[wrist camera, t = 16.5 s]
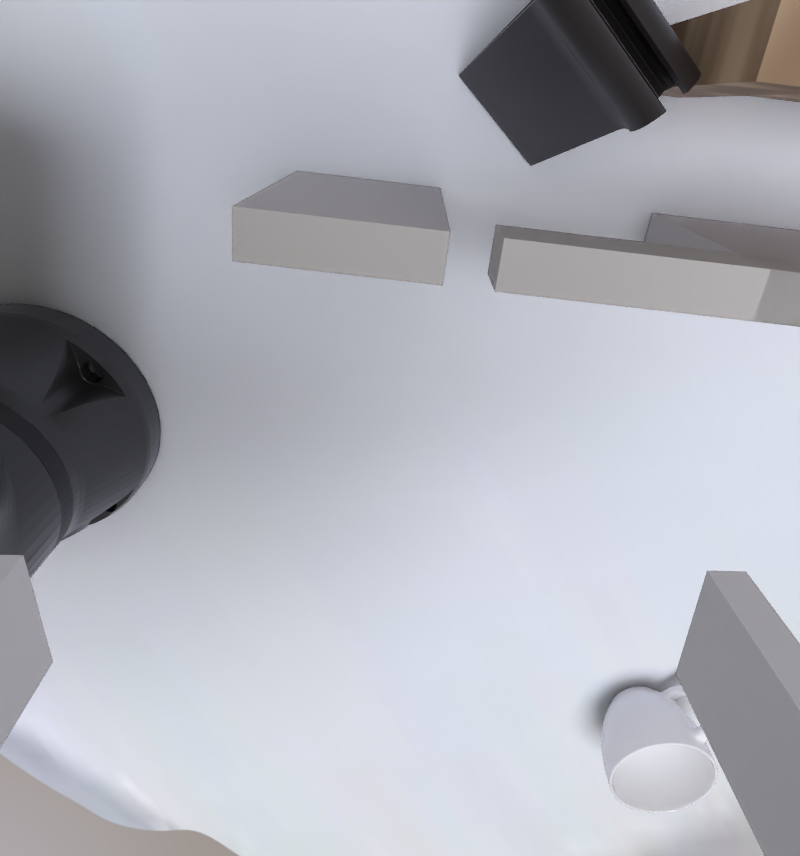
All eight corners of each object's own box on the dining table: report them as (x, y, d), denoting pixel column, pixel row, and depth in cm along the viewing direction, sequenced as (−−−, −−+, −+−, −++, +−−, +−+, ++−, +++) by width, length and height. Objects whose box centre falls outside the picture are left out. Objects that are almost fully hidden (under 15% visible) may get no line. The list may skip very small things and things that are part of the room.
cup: (568, 709, 54) (587, 785, 48) (658, 637, 51) (690, 710, 45) (635, 749, 56) (661, 826, 50) (726, 683, 53) (766, 758, 47)
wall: (295, 208, 37) (232, 261, 25) (297, 170, 36) (232, 206, 24) (846, 272, 38) (1055, 356, 25) (861, 237, 37) (1085, 306, 25)
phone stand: (601, -72, 31) (696, -164, 20) (671, 35, 33) (791, 2, 22) (458, 74, 34) (474, 61, 23) (529, 165, 36) (575, 191, 25)
